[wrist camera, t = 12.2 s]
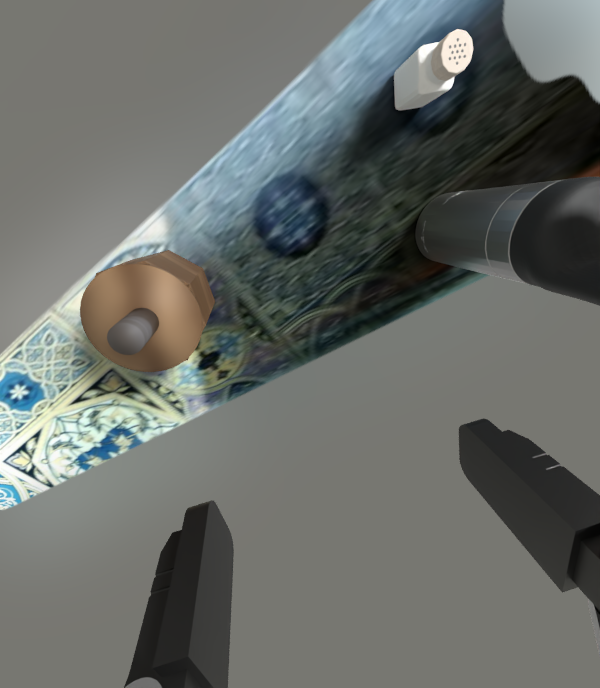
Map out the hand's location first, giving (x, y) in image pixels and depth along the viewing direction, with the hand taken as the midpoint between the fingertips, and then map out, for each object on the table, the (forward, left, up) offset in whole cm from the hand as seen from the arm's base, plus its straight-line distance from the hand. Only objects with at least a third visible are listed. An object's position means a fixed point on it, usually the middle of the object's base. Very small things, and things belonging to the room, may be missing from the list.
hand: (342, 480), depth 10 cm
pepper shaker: (-22, -17, -36) cm, 46 cm away
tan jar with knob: (+14, -1, -36) cm, 39 cm away
